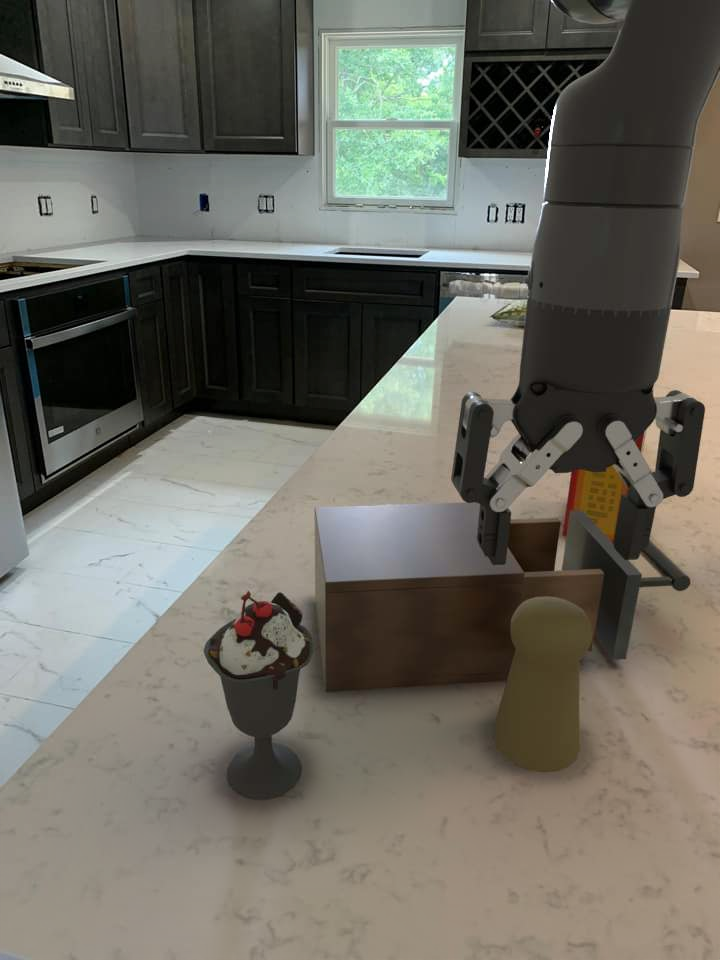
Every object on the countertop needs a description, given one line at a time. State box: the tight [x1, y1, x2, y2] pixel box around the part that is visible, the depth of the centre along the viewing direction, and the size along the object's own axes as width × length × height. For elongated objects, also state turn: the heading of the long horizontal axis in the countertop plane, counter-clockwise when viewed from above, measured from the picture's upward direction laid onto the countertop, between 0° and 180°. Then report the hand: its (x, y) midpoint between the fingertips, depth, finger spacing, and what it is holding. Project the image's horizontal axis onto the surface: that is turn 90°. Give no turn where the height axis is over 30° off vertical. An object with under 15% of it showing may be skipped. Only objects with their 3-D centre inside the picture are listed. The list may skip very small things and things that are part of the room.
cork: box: [492, 596, 592, 773], centre depth 50 cm, size 6×6×11 cm
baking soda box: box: [562, 386, 655, 543], centre depth 81 cm, size 10×6×16 cm
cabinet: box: [314, 501, 525, 693], centre depth 61 cm, size 15×13×10 cm
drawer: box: [508, 510, 691, 661], centre depth 62 cm, size 19×12×8 cm, turn 97°
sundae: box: [203, 590, 314, 801], centre depth 46 cm, size 7×7×15 cm
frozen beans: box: [489, 298, 527, 327], centre depth 195 cm, size 21×6×25 cm
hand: (560, 556), depth 46 cm, fingers open, 8 cm apart
